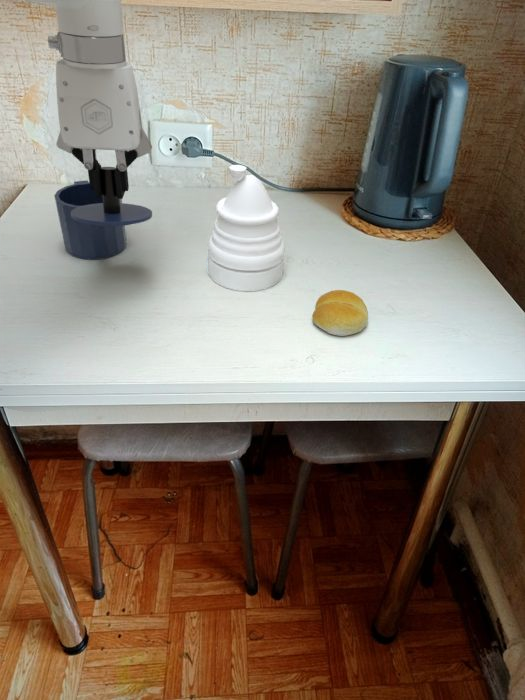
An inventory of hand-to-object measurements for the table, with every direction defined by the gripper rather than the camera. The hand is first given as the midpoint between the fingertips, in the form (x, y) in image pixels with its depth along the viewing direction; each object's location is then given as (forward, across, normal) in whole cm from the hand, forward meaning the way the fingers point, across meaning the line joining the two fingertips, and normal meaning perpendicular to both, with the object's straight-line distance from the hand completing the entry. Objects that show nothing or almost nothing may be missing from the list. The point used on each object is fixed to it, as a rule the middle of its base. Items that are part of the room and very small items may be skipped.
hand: (110, 193), depth 74 cm
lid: (+3, 0, 0) cm, 3 cm away
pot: (+15, -6, +12) cm, 20 cm away
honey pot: (+15, +20, +4) cm, 25 cm away
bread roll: (+15, +34, -10) cm, 39 cm away
